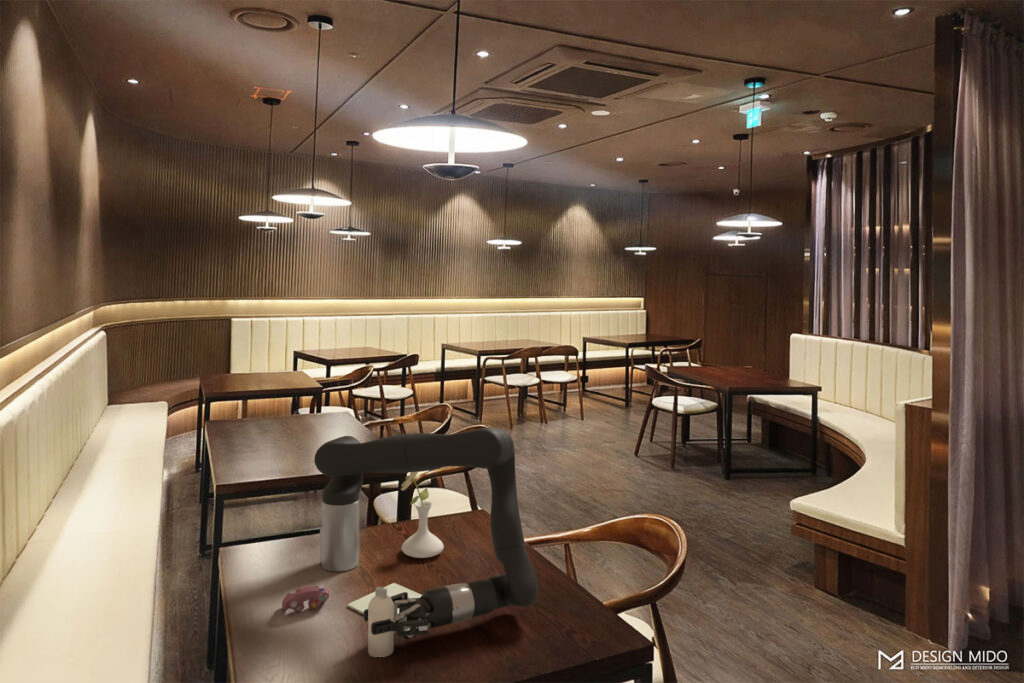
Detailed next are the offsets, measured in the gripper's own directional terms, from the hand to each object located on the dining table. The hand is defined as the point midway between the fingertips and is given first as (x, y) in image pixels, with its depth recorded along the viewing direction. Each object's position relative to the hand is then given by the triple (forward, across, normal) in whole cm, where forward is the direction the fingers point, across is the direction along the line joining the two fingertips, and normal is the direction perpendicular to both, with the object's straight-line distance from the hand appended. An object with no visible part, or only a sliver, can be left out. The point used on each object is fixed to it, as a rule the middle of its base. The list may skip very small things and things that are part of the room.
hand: (368, 622), depth 129 cm
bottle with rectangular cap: (-3, 0, +6) cm, 7 cm away
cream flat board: (-12, -14, +6) cm, 19 cm away
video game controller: (+8, -23, +7) cm, 26 cm away
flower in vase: (-26, -41, +7) cm, 49 cm away
